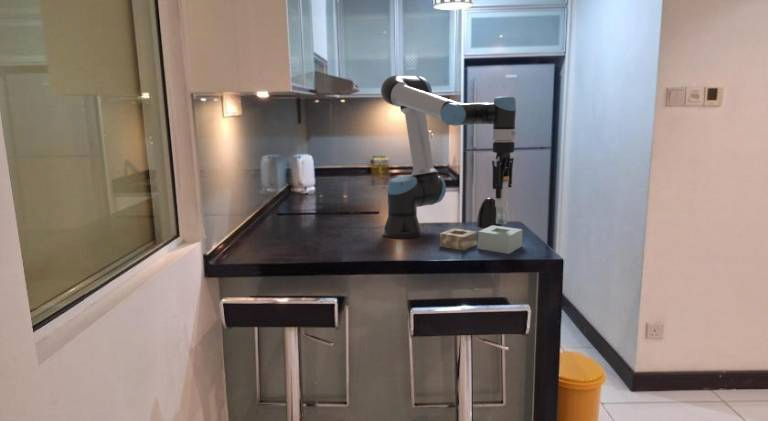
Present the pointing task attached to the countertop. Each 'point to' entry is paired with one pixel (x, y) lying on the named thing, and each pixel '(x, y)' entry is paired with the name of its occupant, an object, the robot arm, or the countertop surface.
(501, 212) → the pin
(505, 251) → the dock
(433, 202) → the robot arm
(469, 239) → the block
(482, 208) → the pump dispenser
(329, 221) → the countertop surface
